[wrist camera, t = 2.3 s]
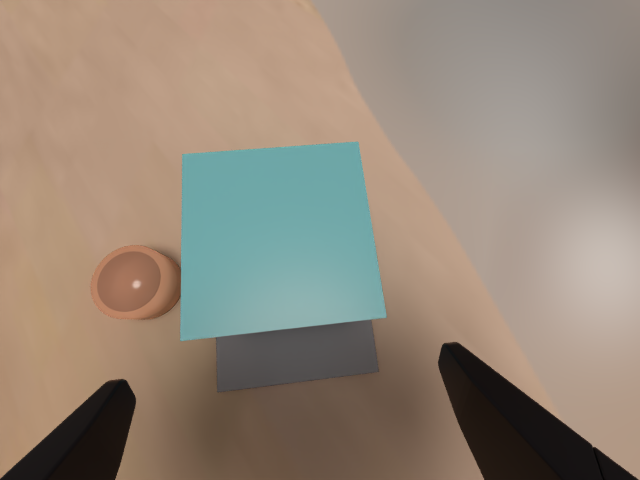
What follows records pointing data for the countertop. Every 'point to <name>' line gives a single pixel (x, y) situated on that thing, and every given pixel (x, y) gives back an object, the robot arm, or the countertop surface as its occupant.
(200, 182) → the teal rectangular block
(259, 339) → the mat
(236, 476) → the countertop surface
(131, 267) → the bowl
